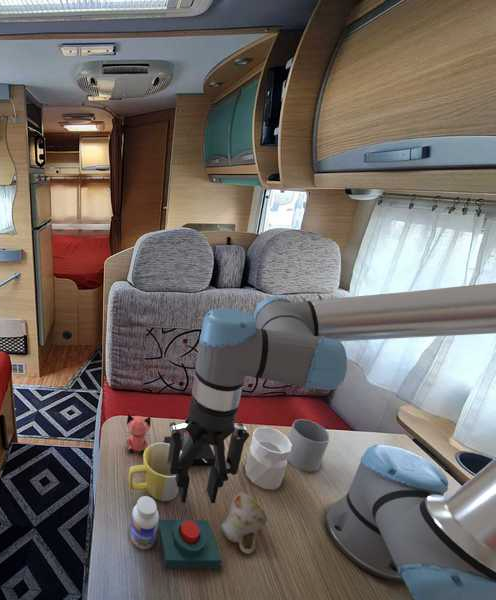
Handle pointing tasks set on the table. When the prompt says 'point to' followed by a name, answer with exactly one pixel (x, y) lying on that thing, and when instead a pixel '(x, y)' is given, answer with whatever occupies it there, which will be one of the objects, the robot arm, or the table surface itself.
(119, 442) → the table surface
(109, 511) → the table surface
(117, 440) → the table surface
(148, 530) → the pill bottle
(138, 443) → the pink cat figurine
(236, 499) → the mug
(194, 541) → the button
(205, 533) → the switch
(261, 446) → the vase
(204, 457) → the plate
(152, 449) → the mug
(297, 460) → the cup
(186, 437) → the spout
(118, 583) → the table surface
